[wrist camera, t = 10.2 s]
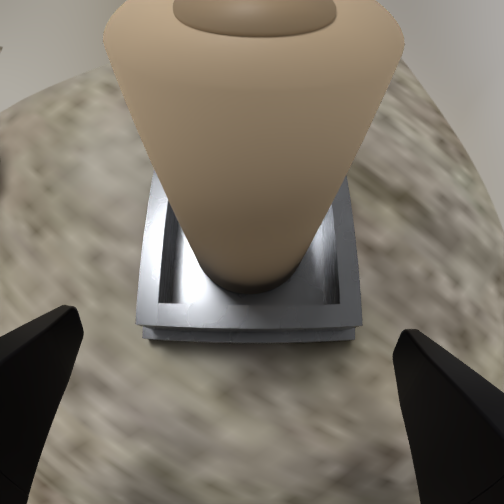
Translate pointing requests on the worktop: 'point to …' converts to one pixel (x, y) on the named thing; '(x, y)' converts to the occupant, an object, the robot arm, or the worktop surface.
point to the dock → (248, 305)
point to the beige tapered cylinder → (252, 117)
